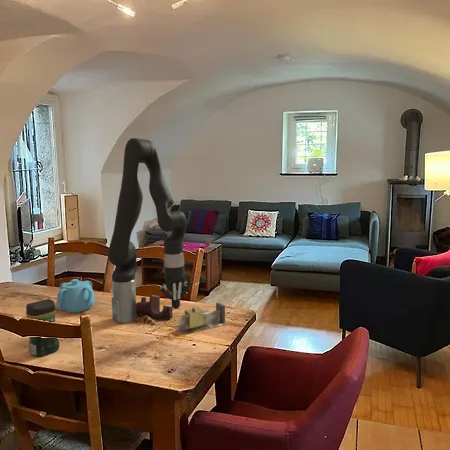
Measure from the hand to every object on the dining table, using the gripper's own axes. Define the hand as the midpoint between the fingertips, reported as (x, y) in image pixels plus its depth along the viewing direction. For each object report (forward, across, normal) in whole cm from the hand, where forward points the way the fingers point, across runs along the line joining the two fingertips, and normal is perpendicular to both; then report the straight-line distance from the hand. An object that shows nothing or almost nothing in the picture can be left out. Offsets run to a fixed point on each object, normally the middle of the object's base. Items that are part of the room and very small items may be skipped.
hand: (175, 308), depth 177 cm
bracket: (+10, 0, -21) cm, 23 cm away
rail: (+10, -10, 0) cm, 15 cm away
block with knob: (+8, -8, 0) cm, 11 cm away
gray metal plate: (+10, -18, -11) cm, 23 cm away
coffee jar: (+10, +46, -12) cm, 49 cm away
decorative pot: (+10, +25, -50) cm, 56 cm away
